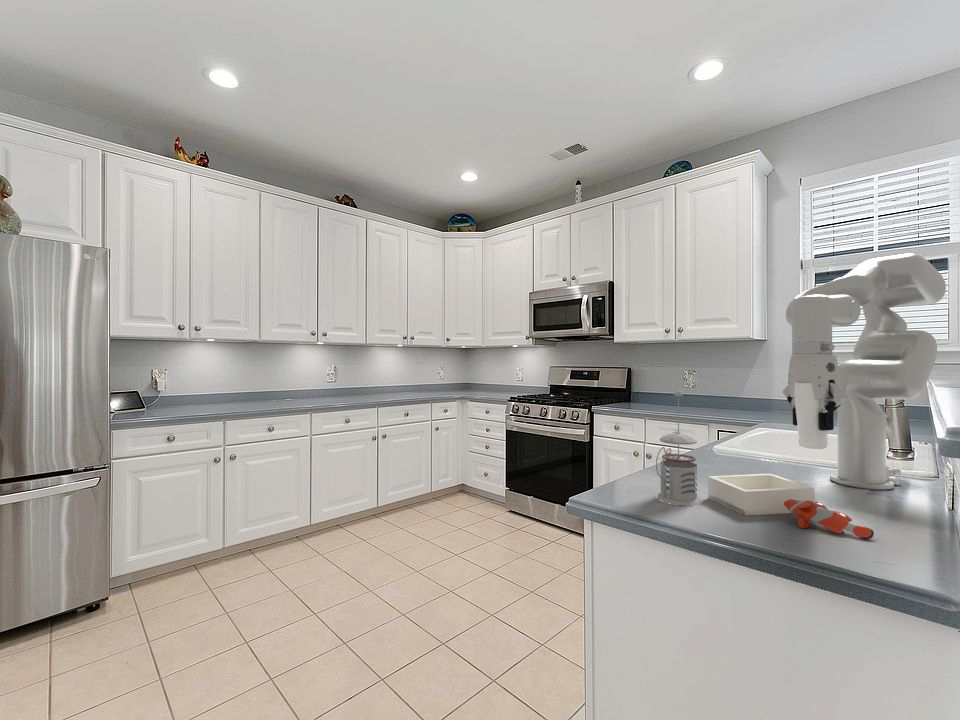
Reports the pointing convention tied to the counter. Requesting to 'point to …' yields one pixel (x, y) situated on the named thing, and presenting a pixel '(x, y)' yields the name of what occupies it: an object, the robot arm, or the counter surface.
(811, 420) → the drinking glass
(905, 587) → the counter surface
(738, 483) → the bin
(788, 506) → the fish
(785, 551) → the counter surface
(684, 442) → the french press
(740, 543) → the counter surface
